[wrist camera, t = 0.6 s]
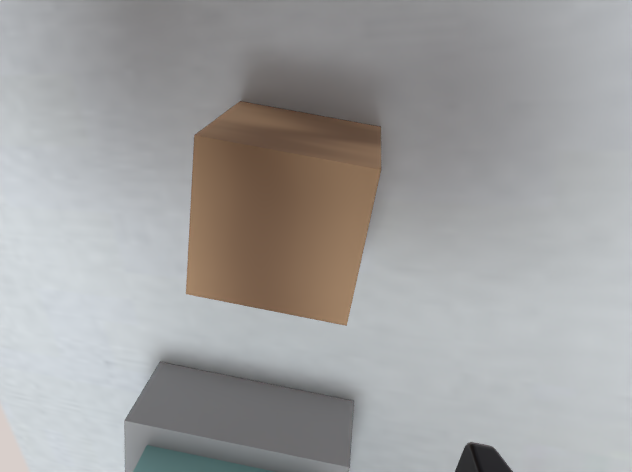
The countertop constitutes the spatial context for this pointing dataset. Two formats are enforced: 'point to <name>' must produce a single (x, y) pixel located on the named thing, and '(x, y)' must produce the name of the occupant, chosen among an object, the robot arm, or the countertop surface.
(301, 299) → the walnut cube
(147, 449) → the teal block
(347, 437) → the slate block
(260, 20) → the countertop surface
